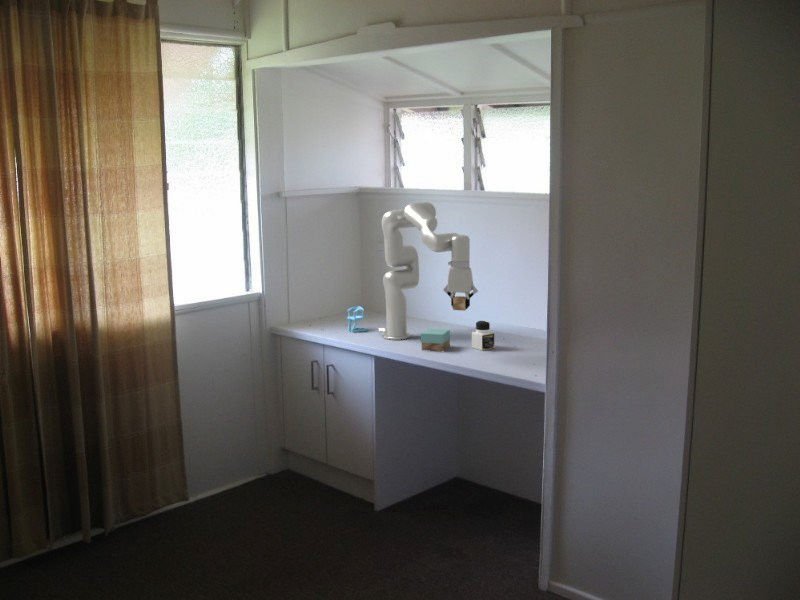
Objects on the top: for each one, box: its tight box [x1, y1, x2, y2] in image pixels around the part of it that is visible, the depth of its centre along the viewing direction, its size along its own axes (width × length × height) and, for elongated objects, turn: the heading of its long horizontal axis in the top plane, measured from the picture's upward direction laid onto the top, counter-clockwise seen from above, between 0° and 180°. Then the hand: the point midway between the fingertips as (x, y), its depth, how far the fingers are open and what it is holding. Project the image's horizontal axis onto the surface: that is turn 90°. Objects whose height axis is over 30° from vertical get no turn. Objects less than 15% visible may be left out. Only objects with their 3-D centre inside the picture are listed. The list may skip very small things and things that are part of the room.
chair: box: [346, 305, 368, 333], centre depth 407 cm, size 8×8×12 cm
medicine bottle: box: [471, 320, 495, 351], centre depth 365 cm, size 7×7×12 cm
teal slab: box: [420, 328, 451, 344], centre depth 367 cm, size 10×10×4 cm
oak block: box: [452, 295, 467, 312], centre depth 352 cm, size 5×5×5 cm
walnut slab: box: [421, 338, 451, 352], centre depth 368 cm, size 10×10×4 cm
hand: (460, 307), depth 352 cm, fingers closed on oak block, 4 cm apart
